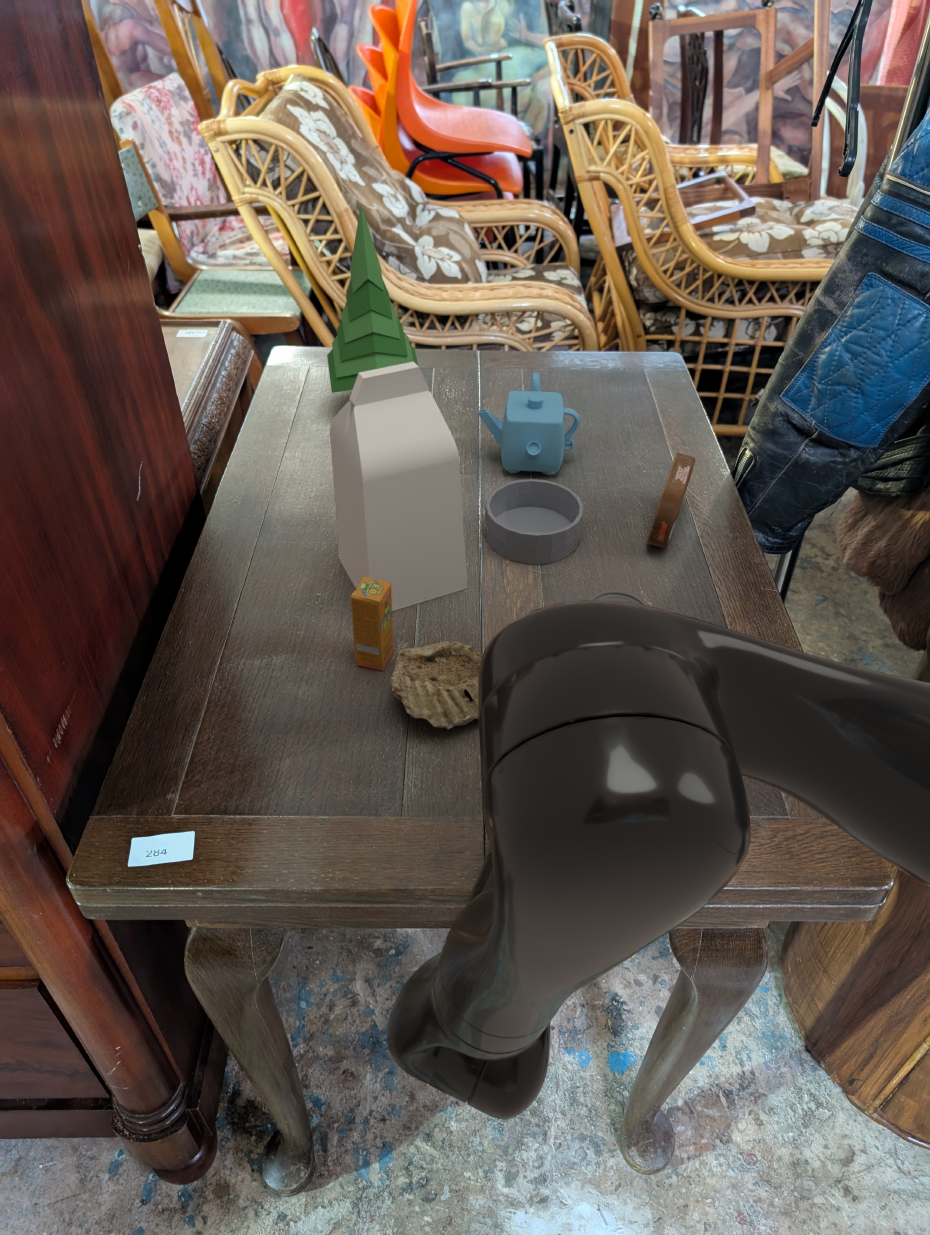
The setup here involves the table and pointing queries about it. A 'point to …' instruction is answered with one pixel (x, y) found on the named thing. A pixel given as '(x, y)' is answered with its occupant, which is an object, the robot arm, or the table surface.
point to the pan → (533, 521)
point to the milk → (398, 488)
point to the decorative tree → (366, 320)
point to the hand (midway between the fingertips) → (600, 679)
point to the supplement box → (372, 623)
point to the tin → (671, 500)
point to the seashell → (438, 683)
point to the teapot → (532, 430)
